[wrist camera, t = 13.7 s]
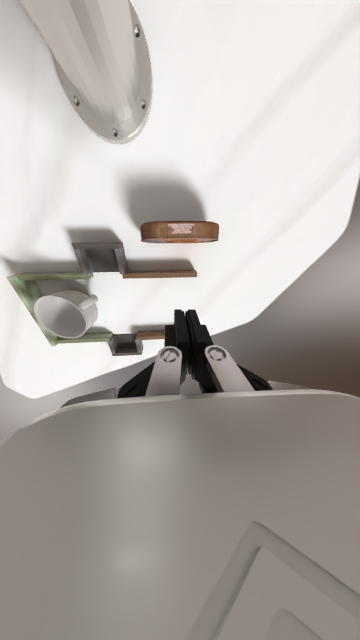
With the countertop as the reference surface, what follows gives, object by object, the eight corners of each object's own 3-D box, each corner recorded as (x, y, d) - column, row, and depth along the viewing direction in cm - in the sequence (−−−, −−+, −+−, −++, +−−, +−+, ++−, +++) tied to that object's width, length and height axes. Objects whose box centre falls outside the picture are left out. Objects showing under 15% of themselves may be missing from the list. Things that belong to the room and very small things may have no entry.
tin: (145, 243, 30) (137, 243, 22) (143, 226, 28) (134, 220, 21) (211, 242, 30) (224, 242, 23) (213, 226, 29) (227, 220, 22)
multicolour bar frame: (7, 243, 28) (-16, 243, 25) (196, 242, 30) (199, 242, 27) (70, 351, 44) (61, 360, 40) (191, 345, 46) (192, 354, 42)
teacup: (77, 326, 39) (58, 343, 32) (48, 292, 34) (17, 305, 27) (120, 312, 38) (109, 327, 31) (96, 275, 32) (77, 283, 25)
